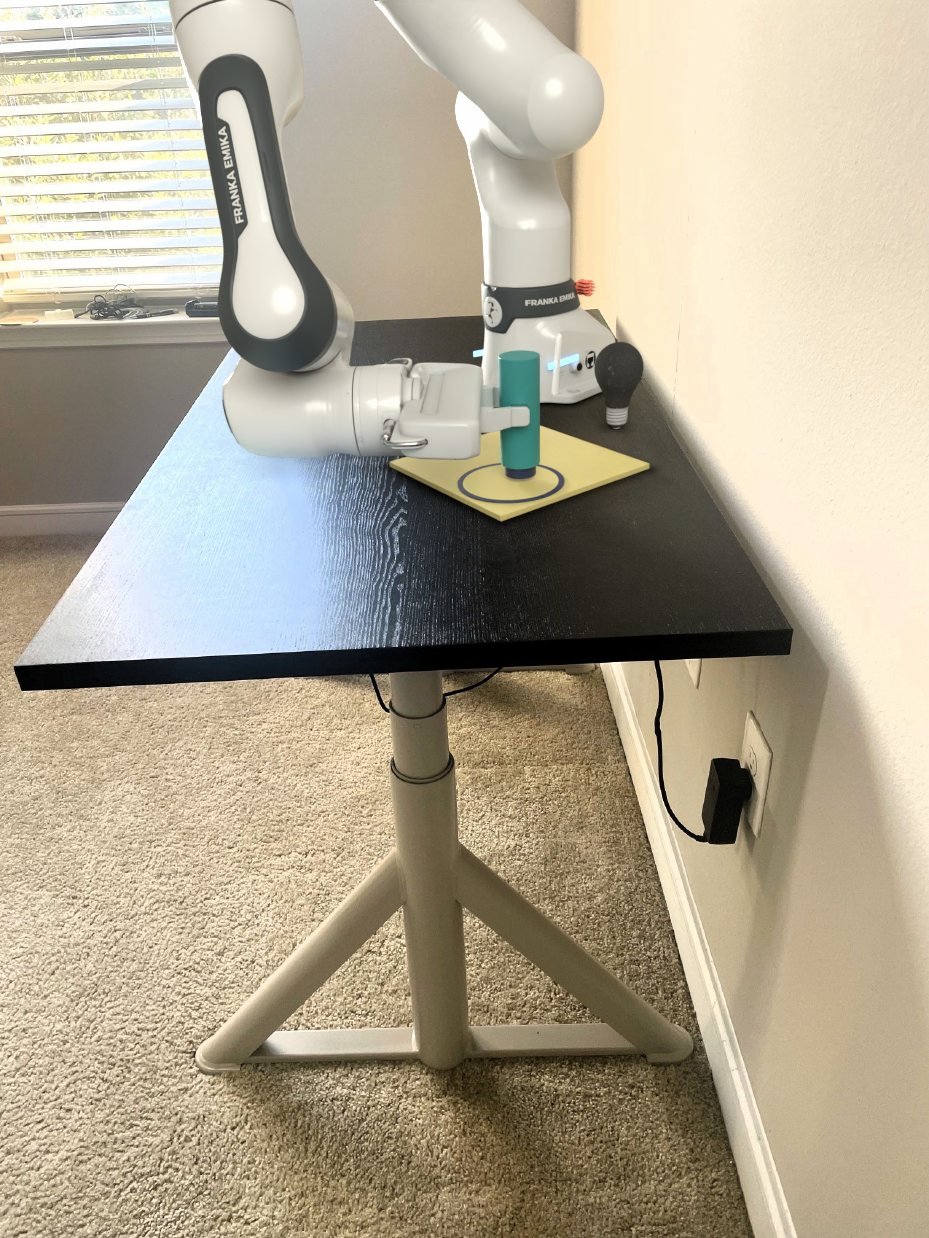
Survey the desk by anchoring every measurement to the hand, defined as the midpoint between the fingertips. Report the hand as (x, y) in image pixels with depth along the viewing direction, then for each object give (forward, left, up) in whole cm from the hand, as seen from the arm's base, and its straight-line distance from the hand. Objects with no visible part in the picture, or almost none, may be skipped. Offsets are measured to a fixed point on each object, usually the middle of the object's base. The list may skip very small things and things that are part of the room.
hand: (528, 406), depth 85 cm
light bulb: (-19, -6, -8) cm, 22 cm away
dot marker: (+1, -1, -7) cm, 7 cm away
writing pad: (-2, -4, -8) cm, 10 cm away
